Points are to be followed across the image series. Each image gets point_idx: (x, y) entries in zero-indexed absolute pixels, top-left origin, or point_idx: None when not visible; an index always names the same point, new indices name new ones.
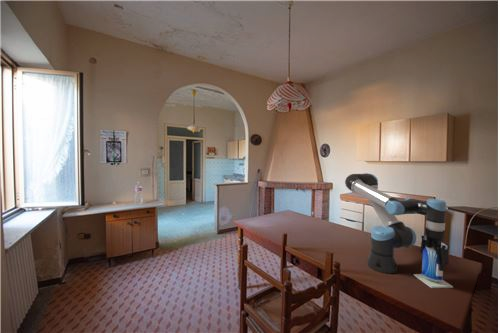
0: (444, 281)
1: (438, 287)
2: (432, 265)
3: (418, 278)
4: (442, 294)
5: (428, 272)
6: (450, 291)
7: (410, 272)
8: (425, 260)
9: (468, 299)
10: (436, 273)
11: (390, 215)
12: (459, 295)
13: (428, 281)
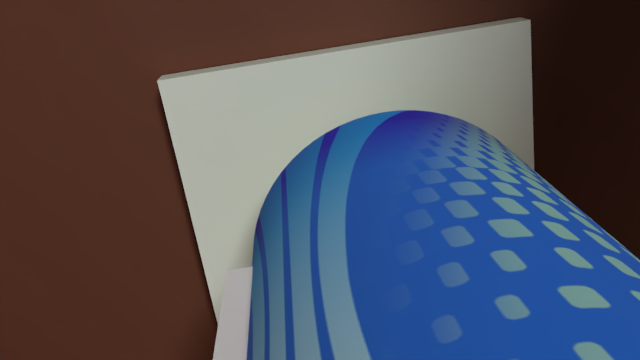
0: None
1: (186, 188)
2: (281, 328)
3: (422, 35)
4: (18, 136)
5: (319, 174)
6: (135, 291)
7: (616, 17)
8: (460, 264)
9: None
10: (244, 291)
11: None
12: (63, 341)
13: (309, 127)
